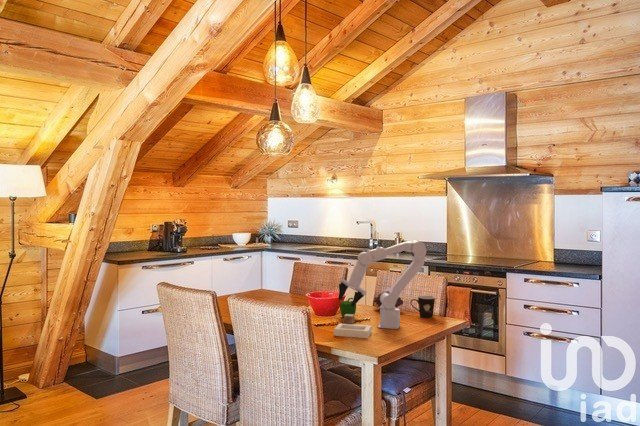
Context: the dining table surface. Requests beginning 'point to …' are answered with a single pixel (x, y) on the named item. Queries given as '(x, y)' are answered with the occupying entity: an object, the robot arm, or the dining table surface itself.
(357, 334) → the well trough
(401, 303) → the pine cone
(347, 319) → the bracket block
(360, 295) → the robot arm
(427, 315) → the coffee mug
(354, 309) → the bell pepper
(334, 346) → the dining table surface
